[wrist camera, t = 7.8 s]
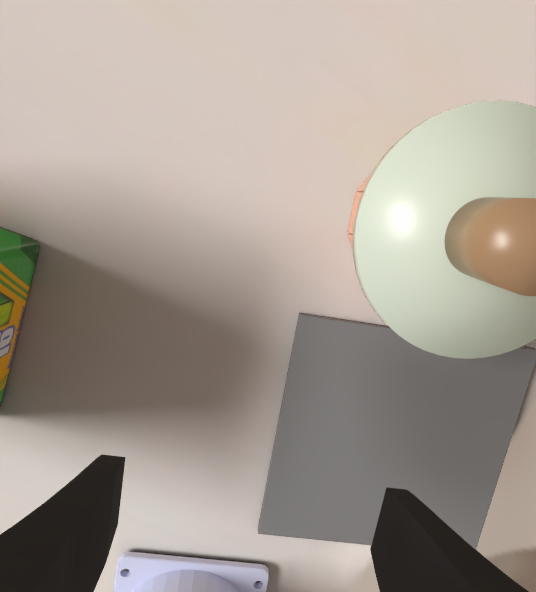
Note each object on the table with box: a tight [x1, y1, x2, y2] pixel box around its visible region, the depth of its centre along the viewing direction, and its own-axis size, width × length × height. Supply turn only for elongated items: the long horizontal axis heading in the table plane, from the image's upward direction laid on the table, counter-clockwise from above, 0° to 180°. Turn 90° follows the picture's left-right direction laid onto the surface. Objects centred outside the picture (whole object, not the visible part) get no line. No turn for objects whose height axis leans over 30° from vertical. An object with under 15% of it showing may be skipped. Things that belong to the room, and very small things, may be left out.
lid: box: [353, 100, 536, 359], centre depth 15 cm, size 9×9×4 cm
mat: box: [258, 313, 536, 550], centre depth 23 cm, size 12×12×1 cm
